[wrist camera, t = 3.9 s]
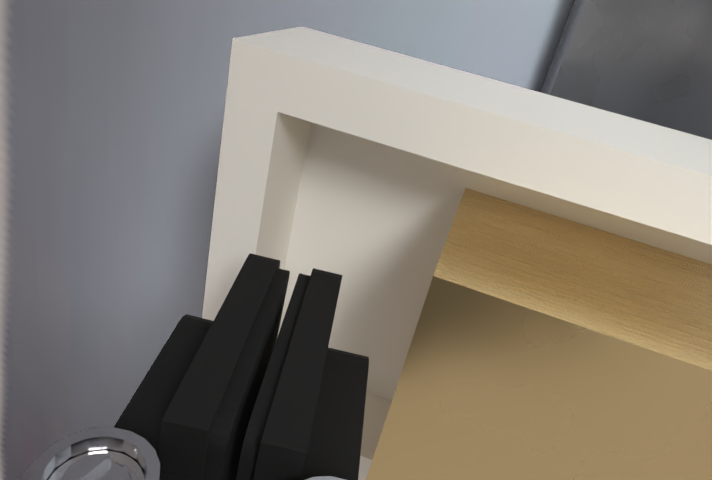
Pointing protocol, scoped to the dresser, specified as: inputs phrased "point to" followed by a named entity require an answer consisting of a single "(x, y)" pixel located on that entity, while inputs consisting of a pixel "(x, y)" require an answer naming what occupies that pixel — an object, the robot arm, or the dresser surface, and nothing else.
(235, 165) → the beam
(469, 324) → the block
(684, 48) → the stand
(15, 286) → the dresser surface
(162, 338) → the dresser surface
